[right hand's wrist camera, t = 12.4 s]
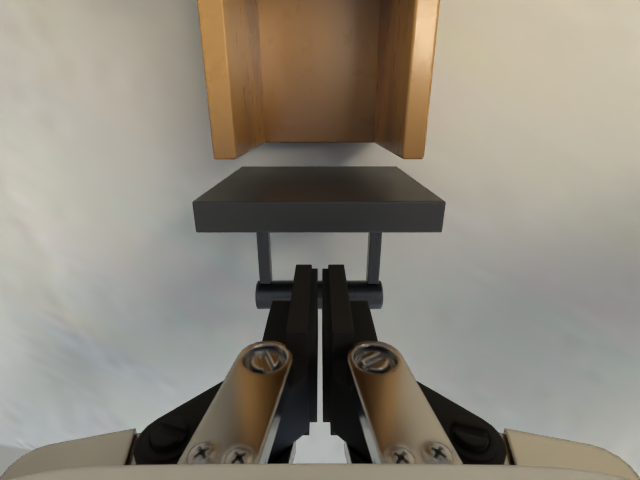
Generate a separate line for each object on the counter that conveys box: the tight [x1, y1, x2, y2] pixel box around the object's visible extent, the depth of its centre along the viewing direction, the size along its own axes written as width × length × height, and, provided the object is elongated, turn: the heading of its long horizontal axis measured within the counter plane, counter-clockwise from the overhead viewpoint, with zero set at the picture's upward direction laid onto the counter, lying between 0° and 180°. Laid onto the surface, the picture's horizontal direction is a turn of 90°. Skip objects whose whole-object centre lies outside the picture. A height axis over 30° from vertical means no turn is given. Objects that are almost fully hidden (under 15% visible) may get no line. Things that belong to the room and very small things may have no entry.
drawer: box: [193, 0, 445, 309], centre depth 15 cm, size 25×9×9 cm, turn 0°
